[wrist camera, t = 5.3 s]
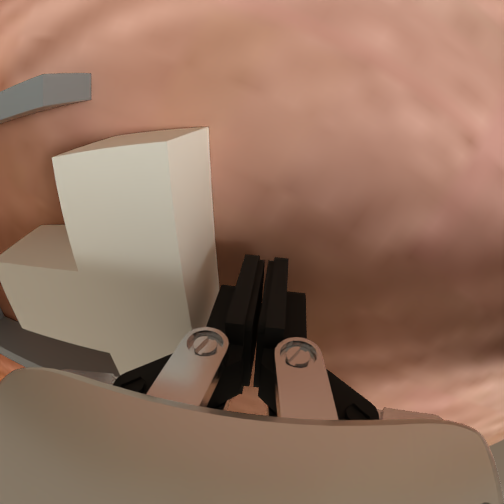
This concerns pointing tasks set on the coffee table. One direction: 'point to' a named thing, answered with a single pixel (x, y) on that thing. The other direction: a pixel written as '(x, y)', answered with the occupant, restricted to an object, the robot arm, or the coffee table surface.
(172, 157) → the t block
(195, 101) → the coffee table surface
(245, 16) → the coffee table surface
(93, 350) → the bay
